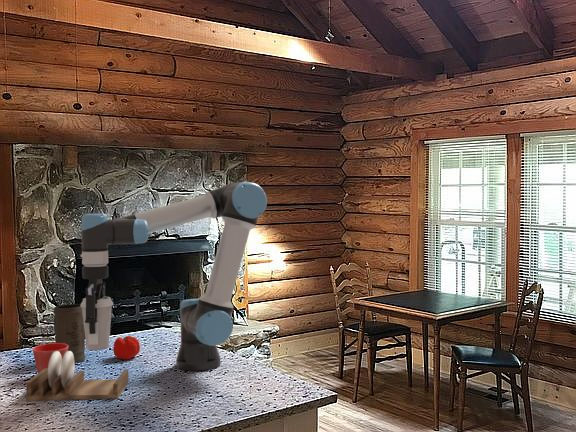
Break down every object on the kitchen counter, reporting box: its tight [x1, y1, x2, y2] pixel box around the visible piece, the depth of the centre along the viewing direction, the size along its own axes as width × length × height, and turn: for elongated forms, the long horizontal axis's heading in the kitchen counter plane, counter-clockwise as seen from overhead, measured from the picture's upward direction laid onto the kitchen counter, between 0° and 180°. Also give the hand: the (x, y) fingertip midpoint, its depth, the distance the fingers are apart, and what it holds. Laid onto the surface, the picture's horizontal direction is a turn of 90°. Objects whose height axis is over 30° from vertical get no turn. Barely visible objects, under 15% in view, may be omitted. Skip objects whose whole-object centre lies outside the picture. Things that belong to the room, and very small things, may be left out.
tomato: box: [112, 335, 141, 360], centre depth 227 cm, size 9×9×8 cm
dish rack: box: [25, 351, 130, 402], centre depth 189 cm, size 26×15×12 cm, turn 92°
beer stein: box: [53, 303, 86, 364], centre depth 226 cm, size 15×11×20 cm
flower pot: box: [32, 342, 69, 374], centre depth 205 cm, size 11×11×10 cm
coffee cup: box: [80, 296, 114, 351], centre depth 189 cm, size 10×10×15 cm
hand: (96, 341), depth 188 cm, fingers closed on coffee cup, 7 cm apart
